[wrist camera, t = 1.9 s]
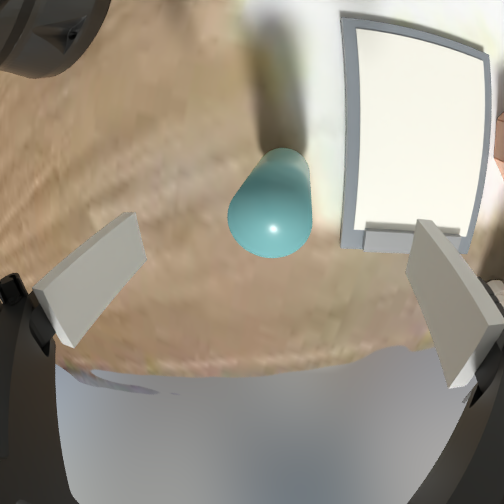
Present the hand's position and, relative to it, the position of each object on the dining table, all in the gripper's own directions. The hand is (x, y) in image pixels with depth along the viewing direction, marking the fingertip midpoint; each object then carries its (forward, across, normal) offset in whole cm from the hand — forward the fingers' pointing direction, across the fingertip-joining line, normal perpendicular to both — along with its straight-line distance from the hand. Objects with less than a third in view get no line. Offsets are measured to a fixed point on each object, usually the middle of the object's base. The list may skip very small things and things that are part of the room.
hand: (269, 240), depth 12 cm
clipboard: (+12, +12, +4) cm, 17 cm away
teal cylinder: (+12, 0, 0) cm, 12 cm away
